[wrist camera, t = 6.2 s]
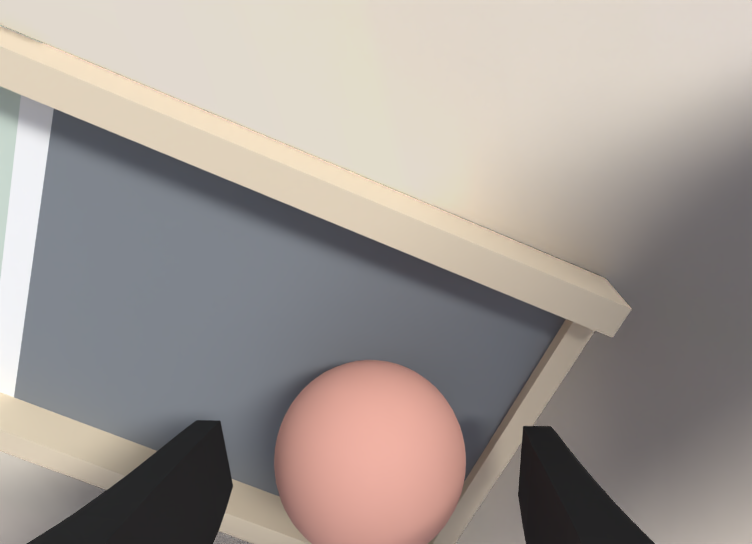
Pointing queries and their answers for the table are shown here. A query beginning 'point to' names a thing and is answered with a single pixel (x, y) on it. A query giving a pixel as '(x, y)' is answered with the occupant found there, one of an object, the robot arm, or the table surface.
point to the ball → (370, 457)
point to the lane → (243, 290)
